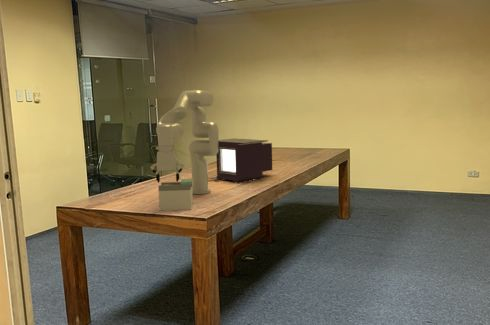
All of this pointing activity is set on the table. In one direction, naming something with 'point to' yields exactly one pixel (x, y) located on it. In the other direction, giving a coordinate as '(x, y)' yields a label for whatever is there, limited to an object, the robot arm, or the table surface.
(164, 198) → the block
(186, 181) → the keeper
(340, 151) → the table surface
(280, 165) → the table surface
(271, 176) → the table surface
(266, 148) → the crt monitor
